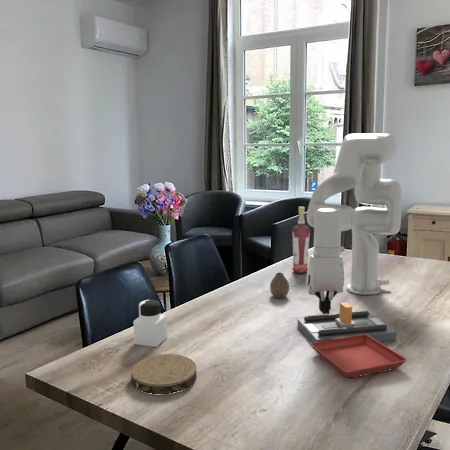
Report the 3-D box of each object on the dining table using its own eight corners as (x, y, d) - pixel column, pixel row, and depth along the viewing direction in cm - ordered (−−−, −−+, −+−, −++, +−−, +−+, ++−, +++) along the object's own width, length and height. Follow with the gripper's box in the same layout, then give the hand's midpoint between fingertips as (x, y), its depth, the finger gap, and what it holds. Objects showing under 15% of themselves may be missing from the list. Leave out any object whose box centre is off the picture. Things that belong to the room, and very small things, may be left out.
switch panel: (369, 320, 160) (369, 307, 159) (395, 340, 144) (396, 327, 144) (297, 326, 155) (297, 313, 154) (316, 348, 140) (317, 334, 139)
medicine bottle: (167, 337, 148) (166, 299, 146) (156, 347, 141) (154, 307, 139) (145, 334, 150) (144, 296, 148) (133, 344, 144) (132, 304, 141)
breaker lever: (347, 321, 152) (348, 301, 151) (355, 327, 147) (356, 307, 146) (335, 322, 151) (336, 302, 150) (342, 328, 147) (343, 308, 145)
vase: (288, 293, 186) (289, 270, 184) (289, 300, 179) (289, 276, 177) (270, 293, 187) (270, 270, 185) (269, 299, 180) (270, 276, 178)
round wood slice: (203, 390, 119) (203, 378, 118) (135, 401, 114) (135, 389, 114) (188, 361, 134) (188, 350, 133) (128, 369, 129) (127, 358, 129)
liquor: (310, 274, 210) (311, 208, 204) (292, 274, 210) (293, 208, 204) (307, 269, 217) (309, 205, 211) (290, 269, 217) (291, 205, 212)
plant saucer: (309, 353, 137) (309, 342, 137) (365, 343, 143) (365, 332, 143) (345, 384, 121) (346, 372, 120) (407, 372, 127) (408, 359, 126)
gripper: (345, 247, 149) (343, 306, 152) (297, 249, 146) (296, 310, 149) (356, 253, 142) (354, 315, 145) (306, 255, 139) (304, 319, 142)
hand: (324, 312), depth 147 cm, fingers closed
